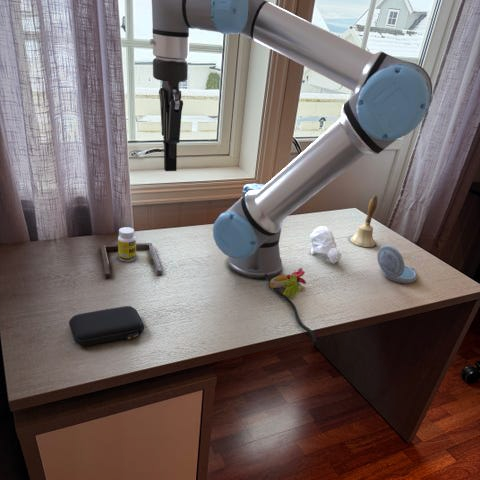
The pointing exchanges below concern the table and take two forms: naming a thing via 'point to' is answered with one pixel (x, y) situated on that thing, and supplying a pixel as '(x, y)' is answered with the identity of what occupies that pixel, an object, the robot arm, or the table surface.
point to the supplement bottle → (126, 244)
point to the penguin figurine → (324, 244)
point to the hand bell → (366, 228)
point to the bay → (138, 247)
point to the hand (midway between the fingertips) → (170, 170)
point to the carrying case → (106, 325)
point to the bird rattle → (289, 283)
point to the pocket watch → (394, 265)
